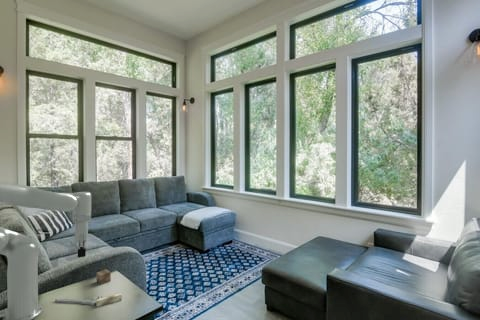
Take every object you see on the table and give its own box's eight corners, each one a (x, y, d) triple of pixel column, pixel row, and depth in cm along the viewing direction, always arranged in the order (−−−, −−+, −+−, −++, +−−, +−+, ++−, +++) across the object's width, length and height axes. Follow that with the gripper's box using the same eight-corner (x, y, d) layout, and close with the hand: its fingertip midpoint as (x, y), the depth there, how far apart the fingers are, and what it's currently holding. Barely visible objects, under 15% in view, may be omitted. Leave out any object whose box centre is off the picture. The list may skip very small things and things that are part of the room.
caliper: (102, 295, 118) (96, 303, 112) (102, 298, 118) (96, 305, 112) (55, 298, 116) (46, 306, 110) (55, 301, 116) (46, 309, 110)
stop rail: (96, 306, 112) (96, 301, 111) (96, 304, 113) (96, 299, 113) (121, 300, 117) (121, 294, 117) (121, 298, 118) (121, 292, 118)
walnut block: (100, 285, 131) (100, 275, 131) (96, 282, 134) (96, 272, 134) (110, 281, 135) (110, 272, 135) (106, 278, 138) (106, 269, 138)
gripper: (73, 215, 126) (73, 253, 126) (71, 222, 113) (71, 263, 113) (91, 214, 130) (90, 250, 130) (91, 220, 117) (90, 260, 117)
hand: (81, 256), depth 122 cm, fingers closed
